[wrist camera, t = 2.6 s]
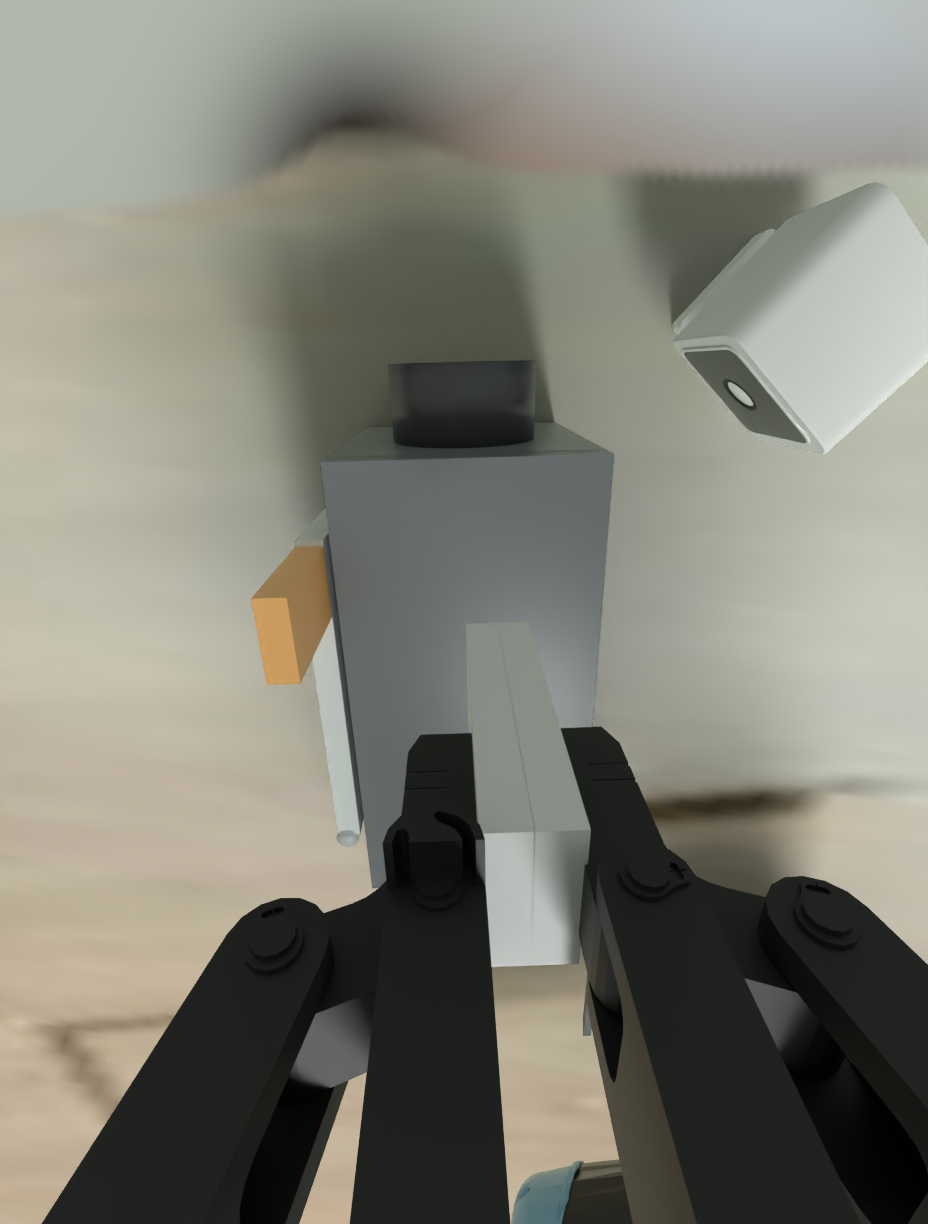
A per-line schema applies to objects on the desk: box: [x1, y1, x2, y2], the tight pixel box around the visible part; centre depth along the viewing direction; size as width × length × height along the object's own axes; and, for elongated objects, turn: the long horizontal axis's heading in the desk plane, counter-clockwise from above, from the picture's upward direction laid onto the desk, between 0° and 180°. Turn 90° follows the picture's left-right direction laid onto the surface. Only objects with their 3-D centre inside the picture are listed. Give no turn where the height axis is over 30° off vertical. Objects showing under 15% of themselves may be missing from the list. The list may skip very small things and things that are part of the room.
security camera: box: [672, 183, 928, 454], centre depth 24 cm, size 6×7×10 cm
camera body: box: [320, 360, 614, 888], centre depth 28 cm, size 23×10×12 cm, turn 1°
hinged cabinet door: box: [251, 508, 364, 846], centre depth 26 cm, size 15×1×16 cm, turn 1°
